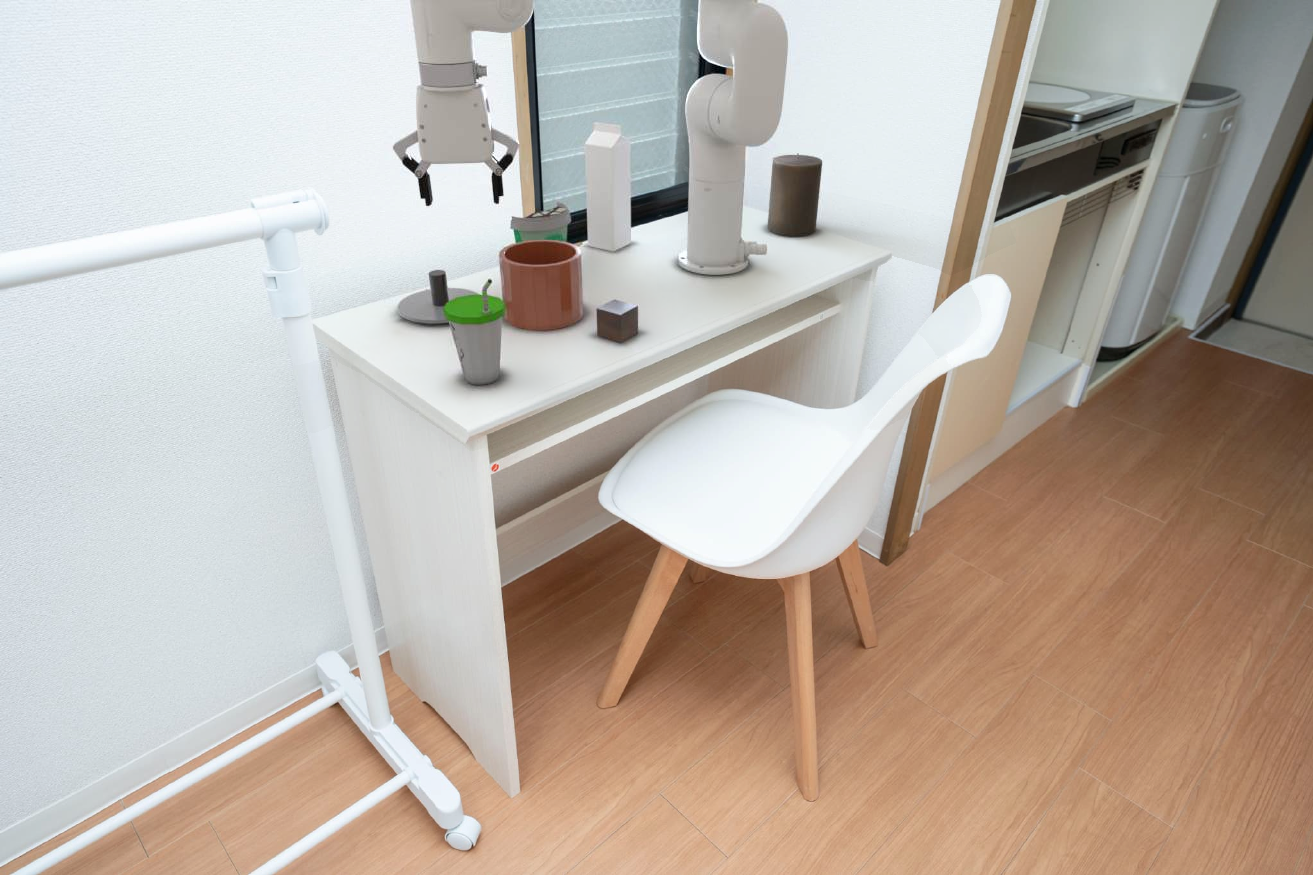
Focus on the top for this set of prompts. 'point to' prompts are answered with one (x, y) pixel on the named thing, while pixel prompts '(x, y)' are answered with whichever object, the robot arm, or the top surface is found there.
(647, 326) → the top surface
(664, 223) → the top surface
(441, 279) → the lid
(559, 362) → the top surface
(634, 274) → the top surface
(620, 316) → the block
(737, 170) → the robot arm
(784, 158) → the pillar candle
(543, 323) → the canister
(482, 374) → the cup
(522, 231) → the food container
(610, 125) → the milk
